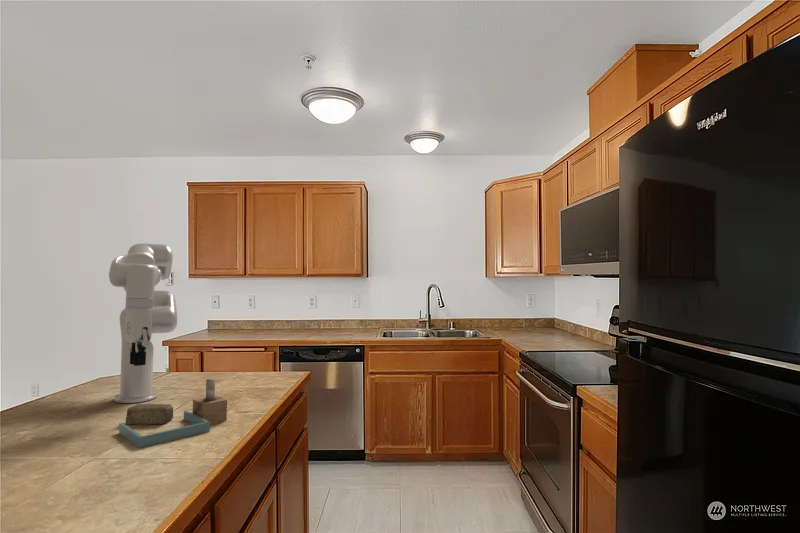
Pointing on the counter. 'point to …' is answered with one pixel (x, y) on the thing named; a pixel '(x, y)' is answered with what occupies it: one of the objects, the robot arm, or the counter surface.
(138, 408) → the stone block
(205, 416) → the block with knob
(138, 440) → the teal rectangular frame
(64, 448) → the counter surface
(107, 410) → the counter surface
